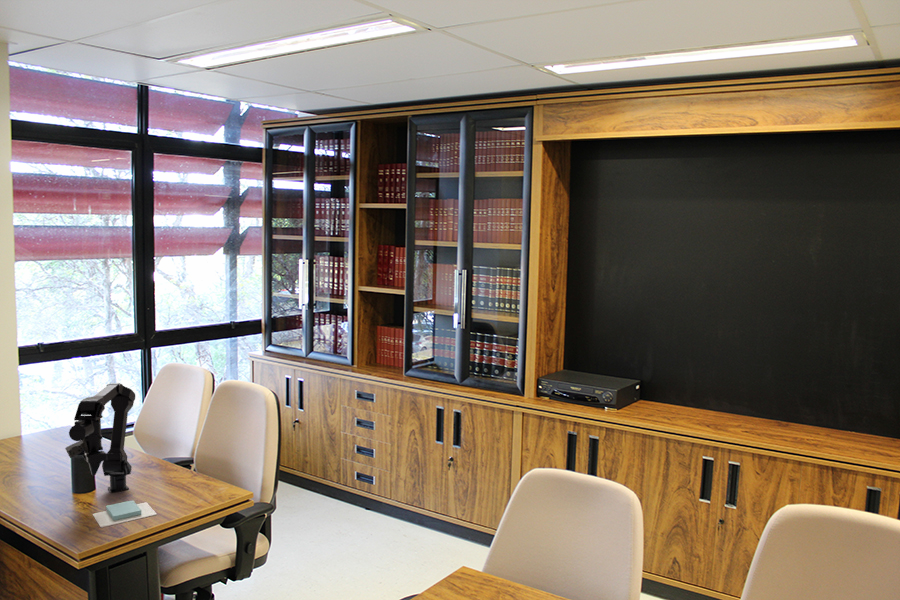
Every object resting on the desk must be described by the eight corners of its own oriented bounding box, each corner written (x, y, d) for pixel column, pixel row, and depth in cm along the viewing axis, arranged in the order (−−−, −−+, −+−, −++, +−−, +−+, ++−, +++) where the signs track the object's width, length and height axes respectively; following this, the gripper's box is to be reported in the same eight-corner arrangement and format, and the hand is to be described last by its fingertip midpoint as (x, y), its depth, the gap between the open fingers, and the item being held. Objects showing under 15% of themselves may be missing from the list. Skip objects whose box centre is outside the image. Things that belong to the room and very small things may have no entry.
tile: (106, 505, 239) (113, 516, 229) (133, 500, 244) (141, 510, 235) (106, 510, 239) (113, 521, 230) (133, 504, 244) (141, 514, 235)
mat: (92, 514, 236) (92, 513, 236) (146, 502, 247) (146, 502, 247) (100, 527, 225) (100, 526, 225) (156, 514, 236) (156, 514, 236)
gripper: (62, 431, 243) (64, 472, 244) (71, 443, 228) (73, 487, 230) (96, 426, 250) (97, 466, 251) (107, 437, 235) (108, 480, 236)
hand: (93, 475), depth 242 cm, fingers closed
